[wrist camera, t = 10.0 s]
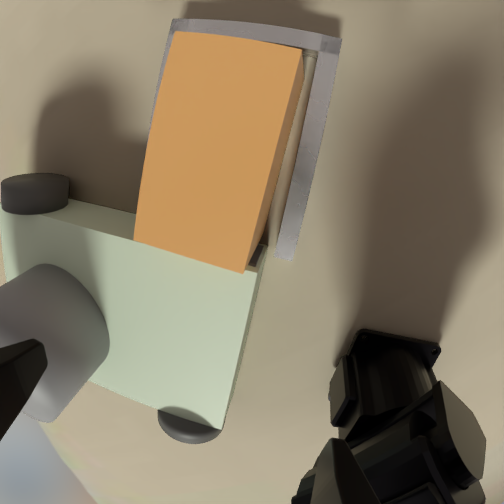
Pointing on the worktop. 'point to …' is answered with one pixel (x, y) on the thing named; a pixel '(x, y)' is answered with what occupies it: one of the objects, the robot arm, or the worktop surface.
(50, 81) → the worktop surface
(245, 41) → the tan wooden brick
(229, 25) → the bracket
